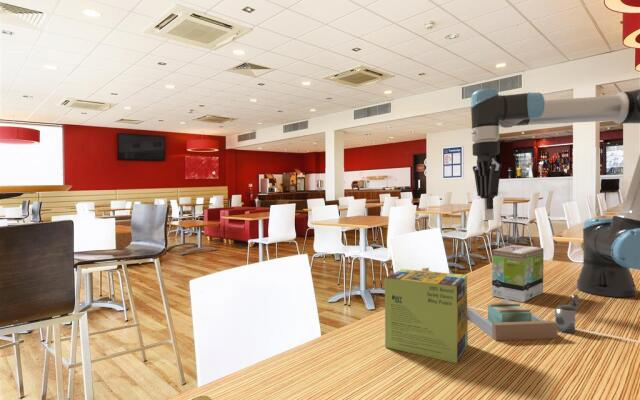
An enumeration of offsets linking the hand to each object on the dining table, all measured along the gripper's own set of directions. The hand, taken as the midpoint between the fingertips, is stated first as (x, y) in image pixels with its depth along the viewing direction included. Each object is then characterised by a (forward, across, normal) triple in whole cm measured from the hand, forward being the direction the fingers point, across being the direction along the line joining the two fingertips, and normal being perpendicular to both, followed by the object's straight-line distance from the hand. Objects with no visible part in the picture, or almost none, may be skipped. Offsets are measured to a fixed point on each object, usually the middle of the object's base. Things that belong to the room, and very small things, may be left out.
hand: (488, 219), depth 116 cm
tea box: (+25, -2, +10) cm, 27 cm away
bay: (+24, +19, -8) cm, 32 cm away
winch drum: (+24, +27, +4) cm, 36 cm away
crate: (+24, +24, -8) cm, 35 cm away
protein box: (+24, +31, -31) cm, 50 cm away
